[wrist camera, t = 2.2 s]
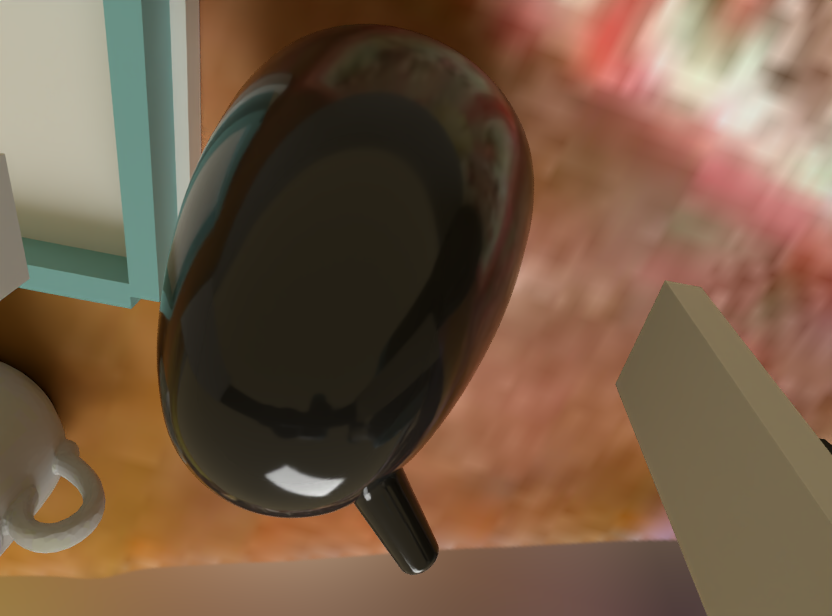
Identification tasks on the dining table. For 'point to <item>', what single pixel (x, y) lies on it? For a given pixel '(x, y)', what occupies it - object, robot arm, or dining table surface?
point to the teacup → (39, 470)
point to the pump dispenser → (341, 275)
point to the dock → (99, 139)
